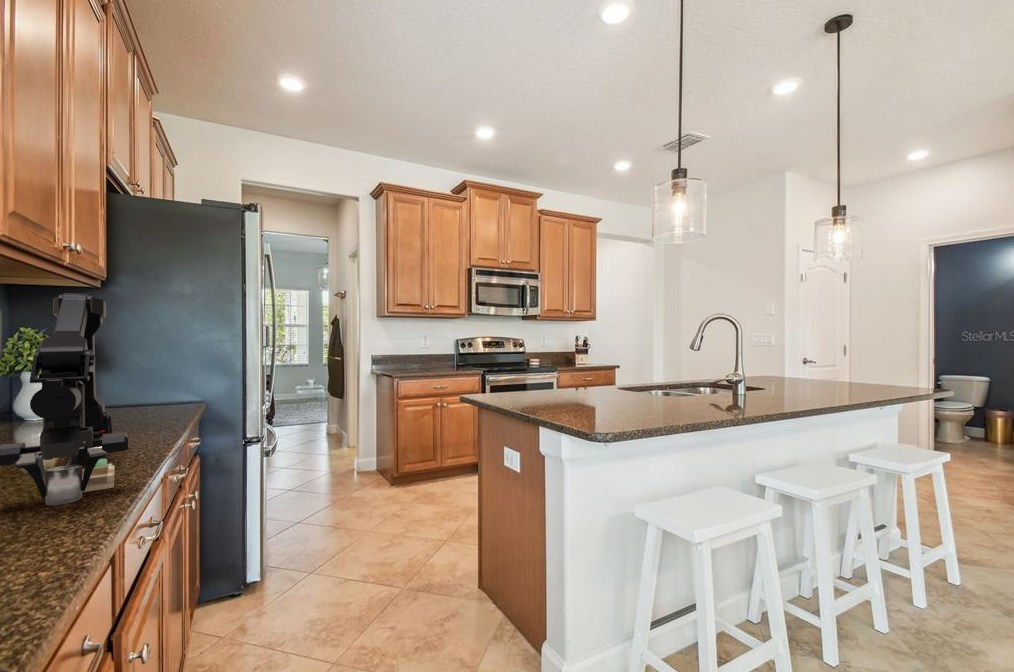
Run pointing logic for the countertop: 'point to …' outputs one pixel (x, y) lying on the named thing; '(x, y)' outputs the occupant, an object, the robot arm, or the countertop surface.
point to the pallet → (100, 478)
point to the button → (101, 463)
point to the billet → (63, 484)
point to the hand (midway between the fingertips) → (64, 493)
